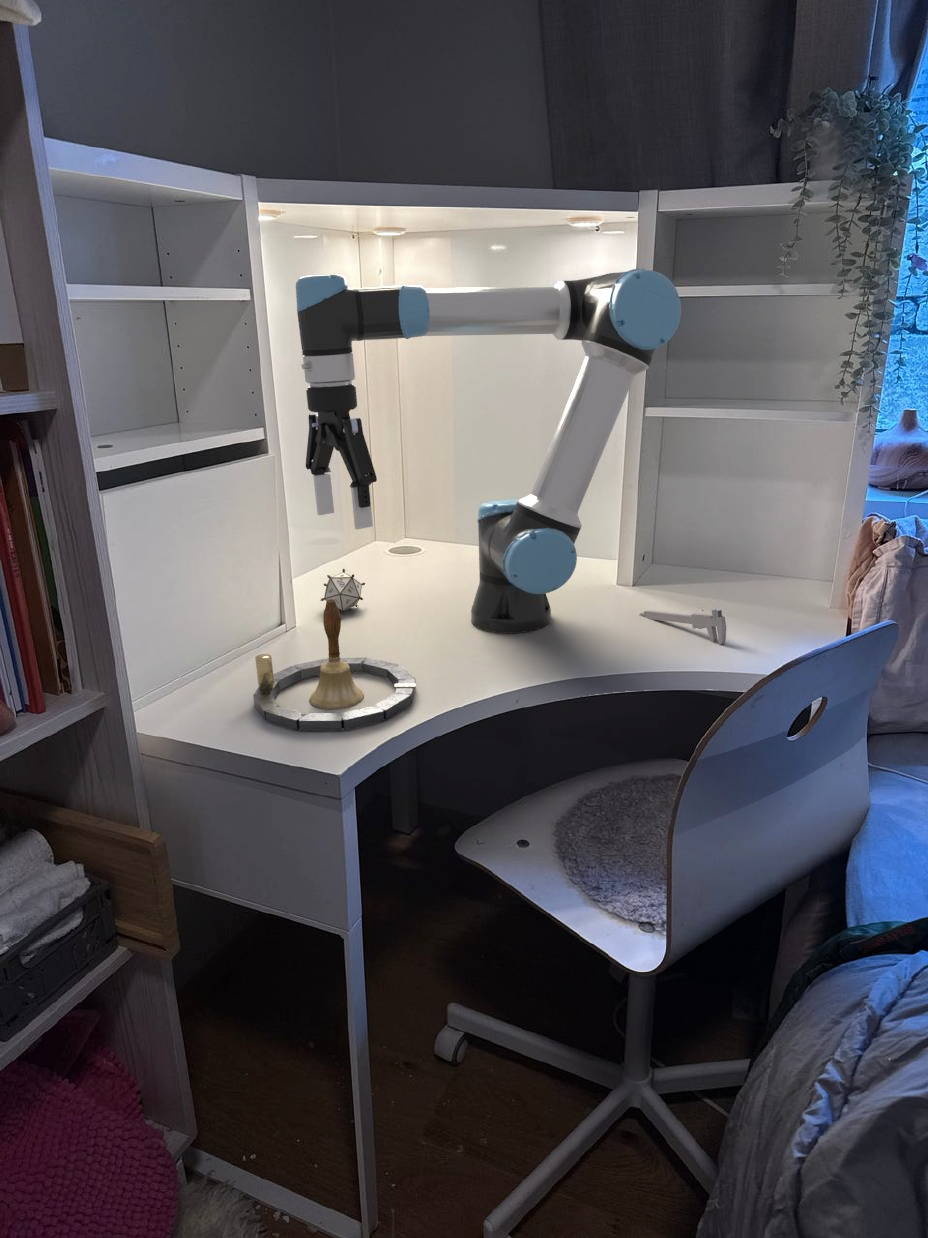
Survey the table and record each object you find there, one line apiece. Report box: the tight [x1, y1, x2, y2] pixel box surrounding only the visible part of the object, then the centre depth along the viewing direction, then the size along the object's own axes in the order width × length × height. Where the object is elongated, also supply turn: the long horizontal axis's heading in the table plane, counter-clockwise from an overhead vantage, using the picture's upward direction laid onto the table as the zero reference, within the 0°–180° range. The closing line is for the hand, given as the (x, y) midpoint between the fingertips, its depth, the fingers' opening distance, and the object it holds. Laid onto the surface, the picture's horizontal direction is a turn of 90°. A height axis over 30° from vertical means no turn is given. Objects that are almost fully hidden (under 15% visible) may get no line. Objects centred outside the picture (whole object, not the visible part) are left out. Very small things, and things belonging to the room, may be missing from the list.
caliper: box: [639, 609, 727, 645], centre depth 161 cm, size 20×1×6 cm, turn 33°
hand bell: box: [309, 599, 365, 710], centre depth 134 cm, size 8×8×16 cm
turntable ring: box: [252, 653, 417, 732], centre depth 136 cm, size 24×24×7 cm
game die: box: [320, 568, 366, 615], centre depth 176 cm, size 9×8×10 cm
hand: (344, 520), depth 142 cm, fingers open, 13 cm apart
